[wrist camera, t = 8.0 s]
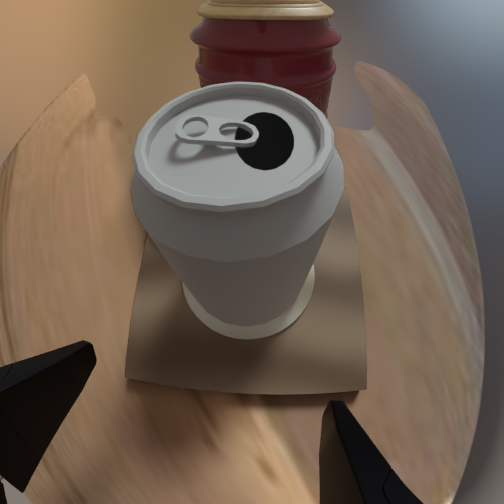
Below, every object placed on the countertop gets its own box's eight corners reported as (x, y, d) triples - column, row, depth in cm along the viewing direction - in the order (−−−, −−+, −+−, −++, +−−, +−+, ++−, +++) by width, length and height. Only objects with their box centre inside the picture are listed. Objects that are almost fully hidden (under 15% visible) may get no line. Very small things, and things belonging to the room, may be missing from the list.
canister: (284, 184, 23) (299, -23, 8) (182, 135, 27) (147, -14, 11) (341, 120, 28) (367, -17, 12) (252, 86, 32) (248, -32, 16)
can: (305, 329, 16) (386, 231, 6) (186, 326, 17) (76, 231, 6) (300, 225, 20) (331, 74, 9) (197, 225, 20) (150, 79, 9)
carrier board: (360, 389, 16) (375, 389, 13) (132, 378, 16) (114, 376, 14) (342, 191, 23) (349, 171, 21) (166, 188, 24) (157, 169, 21)
